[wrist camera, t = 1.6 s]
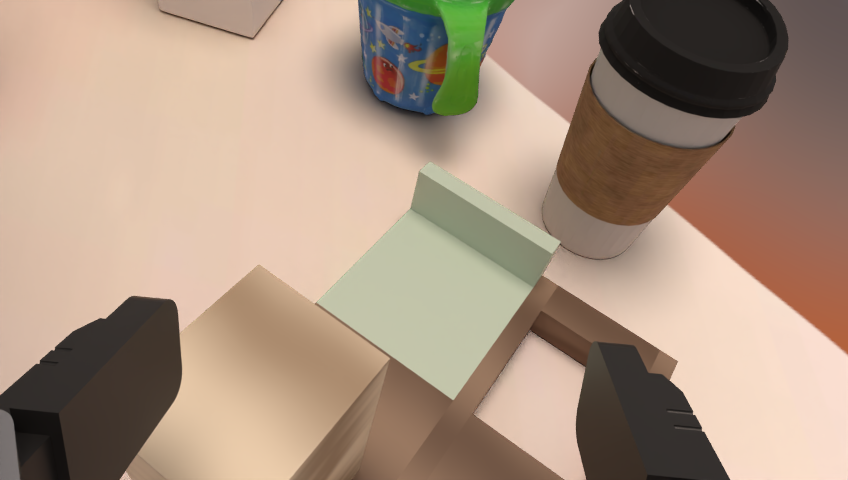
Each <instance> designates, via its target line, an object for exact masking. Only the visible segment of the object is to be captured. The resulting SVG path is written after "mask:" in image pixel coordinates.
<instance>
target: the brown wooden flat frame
mask: <svg viewBox="0 0 848 480" xmlns="http://www.w3.org/2000/svg"><path fill="white" fill-rule="evenodd" d="M315 305H316V306H318V307H319V308H321V309H322V310H323V311H325V312H326V313H328V314H329V315H330V316H332V317H333V318H335V319H336V320H337V321H339V322H340V323H342V324H343V325H344V326H346V327H347V328H349V329H350V330H351V331H353V332H354V333H355V334H357V335H358V336H360V337H361V338H362V339H364V340H365V341H367V342H368V343H369V344H371V345H372V346H374V347H375V348H376V349H378V350H379V351H381V352H382V353H383V354H385V355H386V356H388V357H389V358H390V361H389V364H388V368H387V371H386V375H385V378H384V382H383V386H382V389H381V393H380V396H379V400H378V404H377V407H376V411H375V414H374V418H373V421H372V425H371V429H370V432H369V436H368V439H367V443H366V447H365V450H364V454H363V457H362V461H361V464H360V468H359V470H358V472H357V473H356V474H355V475H354V477H353V478H352V479H351V480H564V479H563V478H561V477H560V476H558V475H557V474H556V473H554V472H553V471H551V470H550V469H549V468H547V467H546V466H544V465H543V464H542V463H540V462H539V461H537V460H536V459H535V458H533V457H532V456H530V455H529V454H528V453H526V452H525V451H523V450H522V449H521V448H519V447H518V446H516V445H515V444H514V443H512V442H511V441H509V440H508V439H507V438H505V437H504V436H502V435H501V434H500V433H498V432H497V431H495V430H494V429H493V428H491V427H490V426H488V425H487V424H486V423H484V422H483V421H481V420H480V419H479V418H477V417H476V416H474V415H473V413H474V412H475V410H476V409H477V407H478V406H479V404H480V403H481V401H482V400H483V398H484V397H485V395H486V394H487V392H488V391H489V389H490V388H491V386H492V385H493V383H494V382H495V380H496V379H497V377H498V376H499V374H500V373H501V372H502V370H503V369H504V367H505V366H506V364H507V363H508V361H509V360H510V358H511V357H512V355H513V354H514V352H515V351H516V349H517V348H518V346H519V345H520V343H521V342H522V340H523V339H524V337H525V336H526V334H527V333H528V331H529V330H531V331H532V332H534V333H536V334H537V335H539V336H540V337H542V338H543V339H545V340H546V341H548V342H549V343H551V344H552V345H554V346H555V347H557V348H558V349H560V350H561V351H563V352H564V353H566V354H567V355H569V356H570V357H572V358H573V359H575V360H576V361H578V362H579V363H581V364H582V365H584V366H585V367H586V364H587V359H588V354H589V350H590V347H591V345H592V343H593V342H594V341H597V342H608V343H618V344H629V345H634V346H635V347H636V348H637V350H638V352H639V354H640V356H641V358H642V360H643V363H644V365H645V367H646V369H647V371H648V373H656V374H663V375H664V376H665V377H666V378H667V379H668V380H670V378H671V376H672V373H673V371H674V369H675V367H676V365H677V362H678V361H676V360H675V359H673V358H672V357H670V356H669V355H667V354H665V353H664V352H662V351H661V350H659V349H657V348H656V347H654V346H653V345H651V344H650V343H648V342H646V341H645V340H643V339H642V338H640V337H639V336H637V335H635V334H634V333H632V332H631V331H629V330H627V329H626V328H624V327H623V326H621V325H620V324H618V323H616V322H615V321H613V320H612V319H610V318H609V317H607V316H605V315H604V314H602V313H601V312H599V311H597V310H596V309H594V308H593V307H591V306H590V305H588V304H586V303H585V302H583V301H582V300H580V299H579V298H577V297H575V296H574V295H572V294H571V293H569V292H567V291H566V290H564V289H563V288H561V287H560V286H558V285H556V284H555V283H553V282H552V281H550V280H549V279H547V278H545V277H544V276H541V278H540V279H539V280H538V282H537V283H536V285H535V286H534V287H533V289H532V290H531V292H530V293H529V294H528V296H527V297H526V299H525V300H524V302H523V303H522V304H521V306H520V307H519V309H518V310H517V312H516V313H515V314H514V316H513V317H512V318H511V320H510V321H509V323H508V324H507V325H506V327H505V328H504V330H503V331H502V333H501V334H500V335H499V337H498V338H497V340H496V341H495V343H494V344H493V345H492V347H491V348H490V349H489V351H488V352H487V354H486V355H485V357H484V358H483V359H482V361H481V362H480V364H479V365H478V366H477V368H476V369H475V371H474V372H473V373H472V375H471V376H470V378H469V379H468V381H467V382H466V383H465V385H464V386H463V388H462V389H461V390H460V392H459V393H458V395H457V396H456V398H455V399H454V400H452V399H451V398H449V397H448V396H447V395H445V394H444V393H442V392H441V391H440V390H438V389H437V388H435V387H434V386H433V385H431V384H430V383H428V382H427V381H426V380H424V379H423V378H421V377H420V376H419V375H417V374H416V373H414V372H413V371H412V370H410V369H409V368H407V367H406V366H405V365H403V364H402V363H400V362H399V361H398V360H396V359H395V358H393V357H392V356H391V355H389V354H388V353H386V352H385V351H384V350H382V349H381V348H379V347H378V346H377V345H375V344H374V343H372V342H371V341H370V340H368V339H367V338H365V337H364V336H363V335H361V334H360V333H358V332H357V331H356V330H354V329H353V328H351V327H350V326H349V325H347V324H346V323H344V322H343V321H342V320H340V319H339V318H337V317H336V316H335V315H333V314H332V313H330V312H329V311H328V310H326V309H325V308H323V307H322V306H321V305H319V304H318V303H315Z"/></svg>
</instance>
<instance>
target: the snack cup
mask: <svg viewBox="0 0 848 480" xmlns="http://www.w3.org/2000/svg"><path fill="white" fill-rule="evenodd" d="M513 1H514V0H358V5H359V19H360V33H361V46H362V60H363V68H364V74H365V78H366V80H367V82H368V83H369V85H370V87H371V88H372V89H373V92H374V94H375V95H376V96H377V97H378V98H379V100H381V101H386V102H388V103H390V104H391V105H394V106H396V107H399V108H402V109H406V110H410V111H416V112H422V113H424V114H425V115H429V114H432V113H437V114H439V115H443V116H448V115H459V114H463V113H466V112H468V111H470V110H471V109H472V108H473V107H474V106H475V104H476V103H477V99H478V83H479V70H480V66H481V64H482V62H483V59H484V57H485V55H486V51H487V49H488V47H489V46H490V44H491V43H492V40H493V38H494V35H495V33H496V32H497V30H498V28H499V25H500V23H501V21H502V18H503V16H504V13H505V11H506V9H507V8H508V7H509V6H510V5H511V3H512V2H513Z"/></svg>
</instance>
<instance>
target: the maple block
mask: <svg viewBox="0 0 848 480" xmlns="http://www.w3.org/2000/svg"><path fill="white" fill-rule="evenodd" d="M180 346H181V358H182V380H181V385H180V389H179V392H178V395H177V397H176V399H175V401H174V402H173V404H172V405H171V407H170V408H169V410H168V411H167V412H166V414H165V415H164V417H163V418H162V420H161V421H160V422H159V424H158V425H157V427H156V428H155V430H154V431H153V432H152V434H151V435H150V437H149V438H148V439H147V441H146V442H145V444H144V445H143V447H142V448H141V449H140V451H139V452H138V454H137V455H136V457H135V458H134V459H133V461H132V462H131V464H130V465H129V467H128V468H127V469H126V472H127V473H128V475H129V476H130V478H131V480H351V479H352V478H353V477H354V475H355V474H356V473H357V472H358V470H359V468H360V464H361V461H362V457H363V454H364V450H365V447H366V443H367V439H368V436H369V432H370V429H371V425H372V421H373V418H374V414H375V411H376V407H377V404H378V400H379V396H380V393H381V389H382V386H383V382H384V378H385V375H386V371H387V368H388V364H389V361H390V358H389V357H388V356H386V355H385V354H383V353H382V352H381V351H379V350H378V349H376V348H375V347H374V346H372V345H371V344H369V343H368V342H367V341H365V340H364V339H362V338H361V337H360V336H358V335H357V334H355V333H354V332H353V331H351V330H350V329H349V328H347V327H346V326H344V325H343V324H342V323H340V322H339V321H337V320H336V319H335V318H333V317H332V316H330V315H329V314H328V313H326V312H325V311H323V310H322V309H321V308H319V307H318V306H316V305H315V304H314V303H312V302H311V301H309V300H308V299H307V298H305V297H304V296H302V295H301V294H300V293H298V292H297V291H295V290H294V289H293V288H291V287H290V286H288V285H287V284H286V283H284V282H283V281H282V280H280V279H279V278H277V277H276V276H275V275H273V274H272V273H270V272H269V271H268V270H266V269H265V268H263V267H262V266H261V265H258V266H256V267H255V268H254V269H253V270H252V271H251V272H250V273H248V274H247V275H246V276H245V277H244V278H243V279H242V280H240V281H239V282H238V283H237V284H236V285H235V286H233V287H232V288H231V289H230V290H229V291H228V292H227V293H225V294H224V295H223V296H222V297H221V298H220V299H219V300H217V301H216V302H215V303H214V304H213V305H212V306H211V307H209V308H208V309H207V310H206V311H205V312H204V313H203V314H201V315H200V316H199V317H198V318H197V319H196V320H195V321H193V322H192V323H191V324H190V325H189V326H188V327H187V328H185V329H184V330H183V331H182V332H181V333H180Z"/></svg>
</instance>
